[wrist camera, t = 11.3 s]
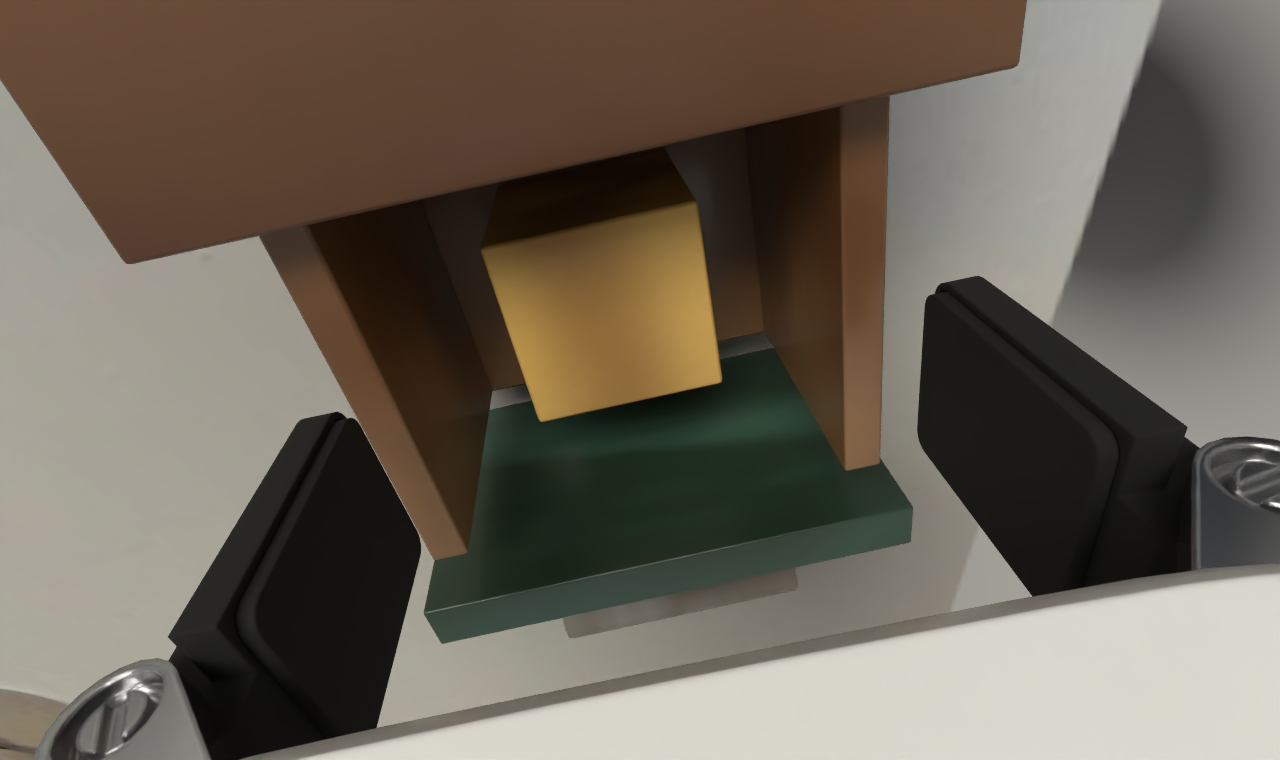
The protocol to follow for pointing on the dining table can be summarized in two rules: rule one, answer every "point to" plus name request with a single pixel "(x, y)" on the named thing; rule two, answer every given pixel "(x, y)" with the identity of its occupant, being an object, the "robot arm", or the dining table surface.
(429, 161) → the cabinet
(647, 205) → the block
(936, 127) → the dining table surface
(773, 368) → the drawer
